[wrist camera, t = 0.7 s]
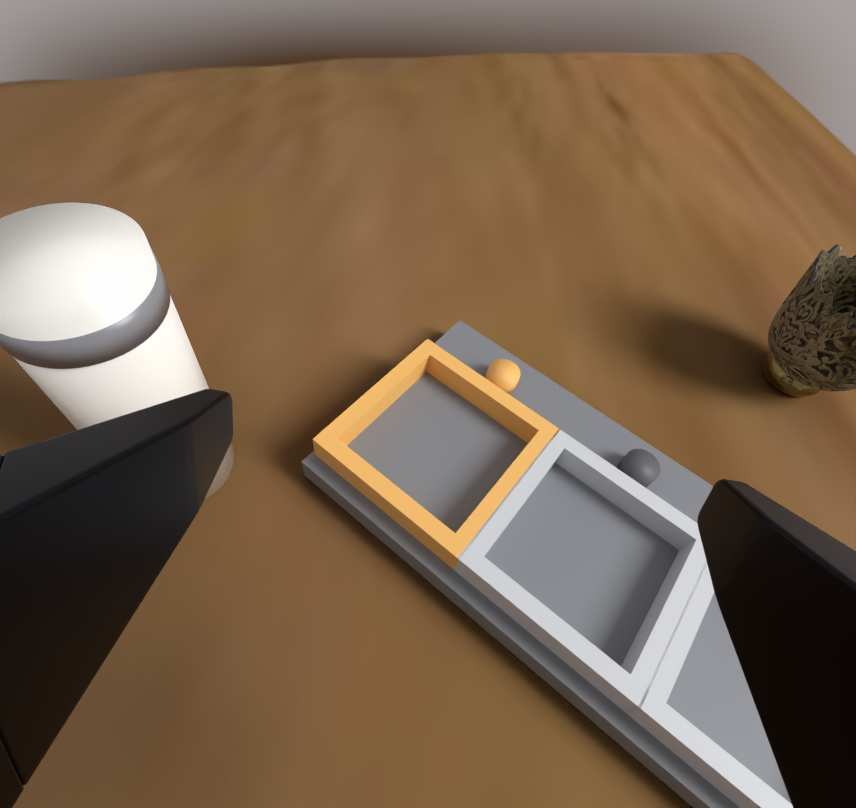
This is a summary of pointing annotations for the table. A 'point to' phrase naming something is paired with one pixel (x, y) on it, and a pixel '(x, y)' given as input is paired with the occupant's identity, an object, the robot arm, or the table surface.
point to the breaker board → (558, 553)
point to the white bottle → (93, 315)
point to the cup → (816, 330)
